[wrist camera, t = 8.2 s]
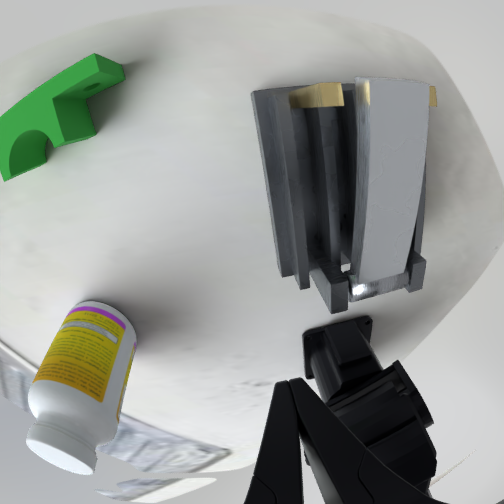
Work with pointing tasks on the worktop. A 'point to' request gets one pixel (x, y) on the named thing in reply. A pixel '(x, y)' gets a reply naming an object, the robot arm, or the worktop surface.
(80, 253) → the worktop surface
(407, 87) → the silver metal bar
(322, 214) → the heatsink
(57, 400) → the supplement bottle
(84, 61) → the pipe clamp
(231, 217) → the worktop surface
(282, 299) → the worktop surface
